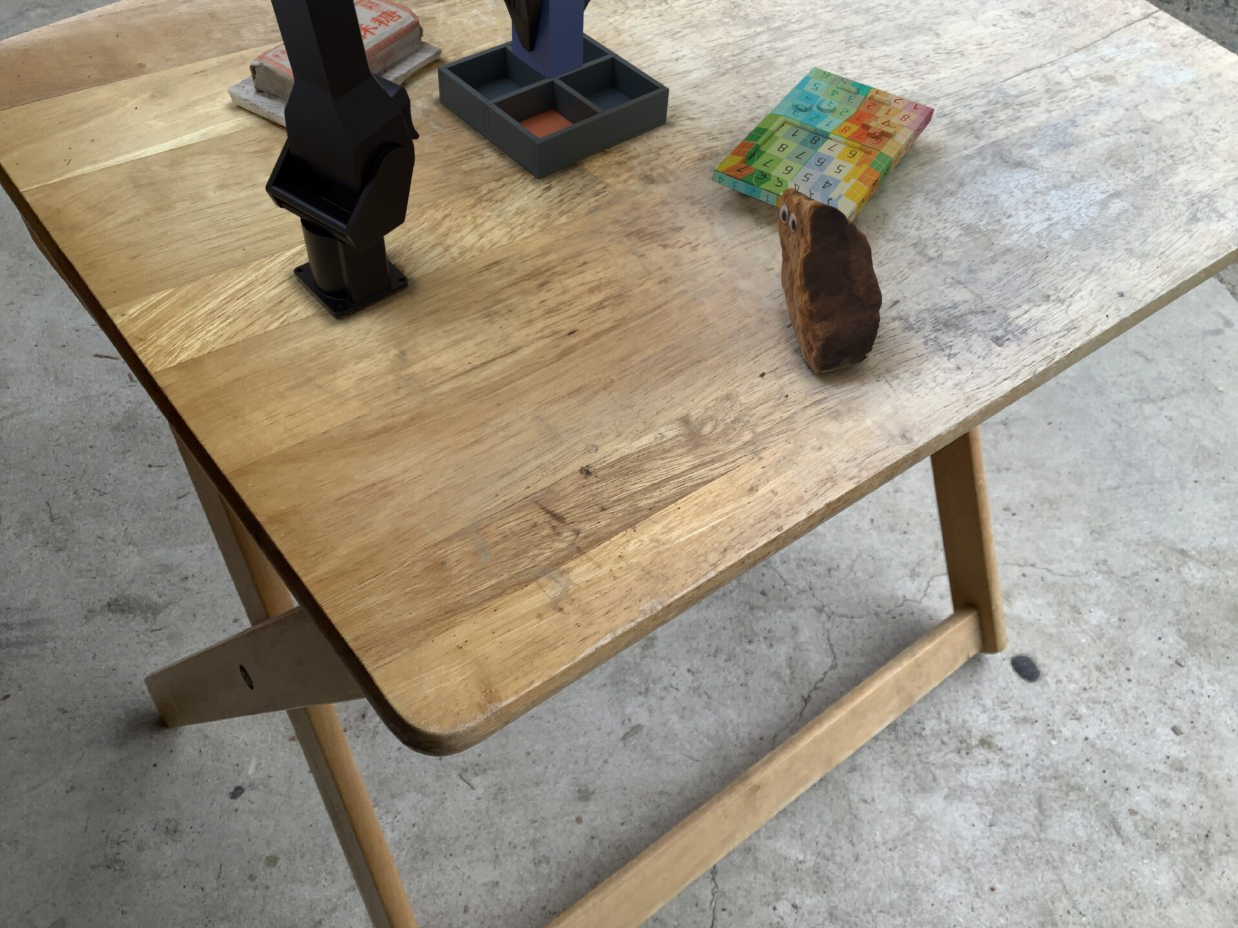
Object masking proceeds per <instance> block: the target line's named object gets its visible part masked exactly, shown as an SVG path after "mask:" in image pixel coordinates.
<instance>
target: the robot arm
mask: <svg viewBox="0 0 1238 928" xmlns="http://www.w3.org/2000/svg"><path fill="white" fill-rule="evenodd" d="M542 1H543V0H503V2H504V5H505V7H506V9H507V12H508V15H509V17H510V20H511V23H512V22H513V25H514V28H515V30H516V33H517V35H518V38H519V40H520V43H521V45H522V47H523V48H524V49H525V50H527V51H528V52H532V51H533V50H534V47H535V43H536V39H537V35H538V28H539V21H540V14H541V7H542ZM590 2H591V0H584V12H585V11H586V10H587V7H588V5H589V4H590ZM270 3H271V5H272V9H273V13H274V15H275V19H276V22H277V23H276V24H277V26H278V29H279V33H280V36H281V39H282V43H284V46H285V49H286V53H287V56H288V59H289V63H290V66H291V69H292V73H293V77H294V82H293V85H292V88H291V90H290V93H289V96H288V99H287V101H286V104H285V107H284V116H285V123H286V127H285V128H286V129H285V130H286V139H285V142H284V143H283V146H282V148H281V151H280V153H279V155H278V157H277V159H276V162H275V164H274V166H273V168H272V171H271V172H270V175H269V177H268V179H267V182H266V184H265V186H264V187H265V188H264V190H265V192H266V193H267V195H268V196H269V197H270V199H271V200H272V202H273V204H274V206H276V207H278V208H280V209H282V210H283V209H284V210H285V211H288V212H289V213H291V214H293V215H295V216H297V217H299V220H300V225H301V231H302V235H303V239H304V244H305V250H306V254H307V260H308V262H305V263H303V264H300V265H298V266H296V267H294V268H293V275H294V277H295V279H297V280H298V281H299V283H300V284H301V285H302V286H303V287H304V288H305V289H306V290H307V291H308V292H309V293H310V294H311V295H312V296H313V297H314V298H315V299H316V300H317V301H318V302H319V303H320V304H321V305H322V306H323V307H324V308H325V309H326V310H327V311H328V312H329V313H330V314H331V315H332V316H333V317H334V318H337V319H338V318H344V317H345V316H347V315H349V314H352V313H354V312H357V311H358V310H361V309H363V308H365V307H367V306H368V305H371V304H373V303H376V302H377V301H380V300H382V299H384V298H387V297H389V296H390V295H393V294H395V293H397V292H399V291H402V290H404V289H406V288H407V287H408V286H409V284H410V283H409V278H408V277H407V276H406V275H405V274H404V273H403V272H402V271H401V270H400V269H399V268H398V267H397V266H396V265H394V264H393V262H392V261H390V259H388V255H387V247H386V241H385V236H387V235H389V234H390V233H391V232H392V231H394V230H396V229H397V228H399V227H400V226H401V225H403V224H404V223H405V221H406V217H407V213H408V206H409V198H410V193H411V187H412V180H413V174H414V168H415V162H416V153H415V150H416V149H415V143H414V141H417V140H419V138H420V134H419V132H418V131H417V129H416V128H415V125H414V122H413V118H412V105H411V98H410V97H409V94H408V90H407V89H406V88H405V87H404V86H402V85H401V84H400V85H398V84H396V83H394V82H392V81H390V80H388V79H386V78H384V77H382V76H379V75H377V74H375V73H373V72H371V69H370V67H369V64H368V59H367V55H366V51H365V47H364V42H363V38H362V34H361V30H360V25H359V21H358V17H357V13H356V8H355V4H354V3H355V0H270Z"/></svg>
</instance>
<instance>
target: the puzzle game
mask: <svg viewBox="0 0 1238 928" xmlns="http://www.w3.org/2000/svg"><path fill="white" fill-rule="evenodd" d="M934 113H935V108H933V107H931V106H928V105H925V104H922V103H919V102H916V101H913V100H911V99H908V98H905V97H902V96H899V95H896V94H894V93H891V92H887V91H886V90H885V91H884V90H881V89H879V88H875V87H873V86H870V85H867V84H864V83H862V82H859V81H856V80H854V79H850V78H848V77H844V76H841V75H839V74H836V73H833V72H831V71H827V70H824V69H823V68H819V67H812V68H811V69H810V70H809V71H808V72H807V73H806V75H804V76H803V78H801V80H799V82H798V83H797V84H796V85H795V86H794V87H793V88H792V89H791V90H789V92H788V93H787V94H786V95H785V96H784V97H783V98H782V99H781V100H780V101H779V102H778V104H776V105H775V106H774V108H772V109H771V111H769V112H768V114H767V115H765V117H764V118H763V119H762V120H761V121H760V122H759V123H758V124H757V125H756V126H755V127H753V129H752V130H751V131H750V132H749V133H748V134H747V135H746V136H745V137H744V138H743V139H742V141H741V142H739V144H737V146H736V147H735V148H734V149H733V150H732V151H731V152H730V153H729V154H728V155H726V157H725V158H724V159H723V160H722V161H721V162H720V163H719V164H718V165H717V167H715V168H714V169H713V171H712V178H711V181H712V182H713V183H716V184H719V185H721V186H724V187H726V188H729V189H730V190H731V189H732V190H733V191H736V192H739V193H741V194H744V195H747V196H750V197H751V198H754V199H756V200H759V201H762V202H764V203H767V204H770V205H772V206H774V207H777V208H779V209H780V203H781V197H782V193H783V191H784V190H786V189H789V188H794V189H795V190H797V191H799V192H801V193H803V194H805V195H806V196H808V197H809V198H811V199H812V200H814V201H818V202H821V203H824V204H827V205H830V206H833V207H835V208H837V209H839V210H840V211H841V212H842V213H844V214H845V215H846V217H847V218H848V219H849V220H852V221H853V222H854V220H855V218H856V217H857V216H858V215H859V213H860V212H861V211H862V209H863V208H864V207H865V206H866V204H867V203H868V201H869V200H870V199H871V198H872V196H873V195H874V194H875V192H876V191H877V190H878V189H879V188H880V186H881V185H882V184H883V183H884V181H885V180H886V178H888V176H889V175H890V173H891V172H893V170H894V168H895V167H896V166H897V165H898V164H899V162H900V161H901V160H902V158H903V157H904V156H905V154H906V153H907V152H908V151H909V149H910V148H911V147H912V146H913V144H914V143H915V142H916V141H917V140H918V138H919V136H920V135H921V134H922V133H923V132H924V130H925V129H926V128H927V127H928V126H929V124H930V123H931V122H932V118H933V115H934Z"/></svg>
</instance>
